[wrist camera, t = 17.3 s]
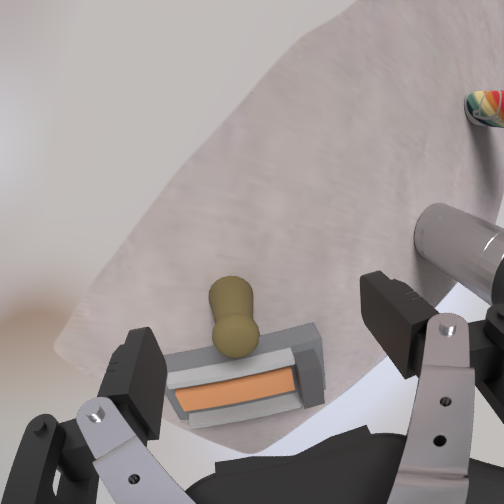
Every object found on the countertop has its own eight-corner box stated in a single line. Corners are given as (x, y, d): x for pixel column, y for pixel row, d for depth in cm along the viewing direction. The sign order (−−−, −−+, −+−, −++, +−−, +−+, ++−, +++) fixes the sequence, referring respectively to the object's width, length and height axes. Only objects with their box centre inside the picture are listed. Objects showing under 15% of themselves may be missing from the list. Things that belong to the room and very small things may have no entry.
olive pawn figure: (258, 281, 42) (273, 326, 32) (246, 318, 44) (256, 369, 34) (214, 271, 41) (215, 316, 31) (204, 310, 43) (203, 361, 32)
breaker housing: (313, 322, 45) (330, 355, 38) (318, 373, 49) (333, 406, 42) (158, 356, 45) (151, 392, 37) (181, 402, 49) (179, 438, 41)
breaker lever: (290, 365, 43) (291, 371, 41) (293, 384, 44) (295, 389, 43) (175, 388, 42) (175, 394, 41) (184, 406, 43) (184, 411, 42)
